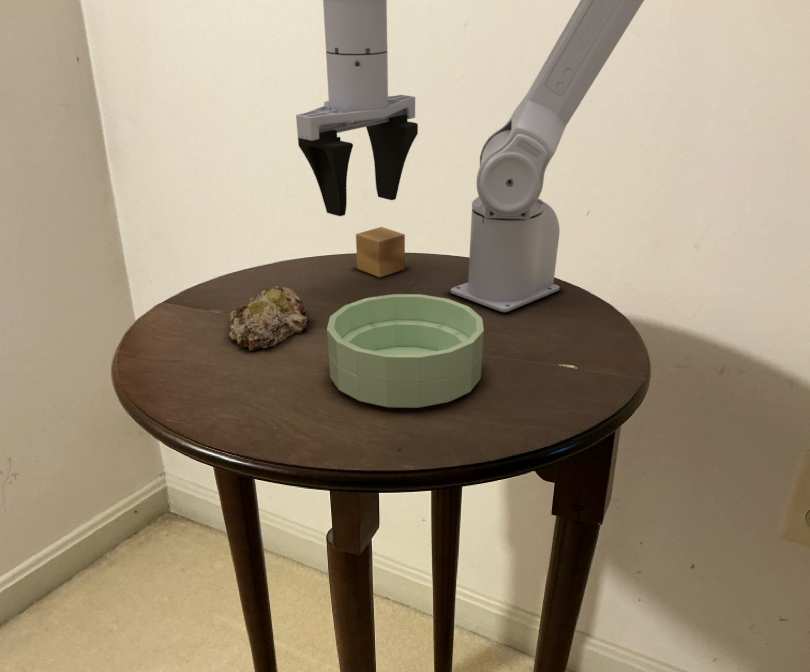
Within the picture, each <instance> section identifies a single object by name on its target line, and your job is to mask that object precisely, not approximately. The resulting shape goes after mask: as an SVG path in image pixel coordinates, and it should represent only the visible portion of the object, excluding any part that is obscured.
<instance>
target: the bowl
mask: <svg viewBox="0 0 810 672" xmlns="http://www.w3.org/2000/svg"><path fill="white" fill-rule="evenodd" d="M484 335H485V328H484V321H483V317H482V316H480V314H478V313H477V312H476V311H475V310H474V309H473V308H471V307H470V306H468V305H466V304H463V303H461V302H458V301H455V300H452V299H450V298H445V297H440V296H439V297H438V296H433V295H427V294H419V293H418V294H417V293H415V294H414V293H413V294H412V293H411V294H410V293H409V294H408V293H407V294H405V293H396V294H395V293H393V294H386V295H379V296H372V297H366V298H363V299H360V300H357V301H353V302H351V303H347V304H345V305H343V306H342V307H340V308H339V309H338V310H336V311H335V312H334V313H333V314H331V315H330V316H329V319H328V323H327V328H326V337H327V338H326V339H327V349H328V350H327V352H328V365H329V366H328V367H329V377H330V378H329V379H331V381H332V383H333V384H334V385H335V387H336V388H337V390H338V391H340V392H342V393H343V394H345V395H348V397H351V398H353V399H355V400H357V401H359V402H361V403H366V404H371V405H375V406H380V407H384V408H412V409H413V408H417V409H419V408H424V407H430V406H434V405H440V404H446V403H450V402H452V401H455V400H456V399H458V398H460V397H463V396H465V395H467V394H469V393H471V392H472V390H473V389H474V388H475V387H476V385H477V384H478V383H479V381H480V380H481V378H482V367H483V365H482V364H483V351H484V350H483V349H484Z"/></svg>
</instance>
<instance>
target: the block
mask: <svg viewBox="0 0 810 672" xmlns="http://www.w3.org/2000/svg"><path fill="white" fill-rule="evenodd" d="M355 245H356V246H355V247H356V248H355V249H356V269H357V270H360V271H362V272H364V273H367V274H370V275H373V276H375V277H377V278H382V277H386V276H389V275H392V274H395V273H399V272H401V271H403V270H405V269H406V234H405V233H403V232H400V231H399V232H398V231H396V230H392V229H389V228H386V227H383V226H380V227H375V228H372V229H369V230H366V231H365V230H364V231H362V232H358V233H355Z"/></svg>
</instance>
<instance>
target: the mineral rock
mask: <svg viewBox="0 0 810 672" xmlns="http://www.w3.org/2000/svg"><path fill="white" fill-rule="evenodd" d="M307 311H308V310H307V308H306V305H305V303H304V301H303V300H301V299H300V297H299V296H298V295H297V294H296V292H295V291H294V290H293V288H287V287H285V286H282V287H281V286H275V285H274V286H273V287H272V288H267V289H264V290H261V293H258V294H257V295H253V297H251V298H250V299H249V300H248V305H244V304H240V305H239V306H238V307H236V309H235V310H233V311H231V312H230V314H229V321H228V322H229V323H228V327H229V328H228V330H229V331H230V332H229V333H228V335H229V338H230V339H231V340H232V341H236V342H237V344H238V345H239V346H240V347H242V348H243V347H245V348H248V351H250V352H253V351H256V350H258V349H269V348H272V347H276V346H277V345H278V344H281V343H283V342H284V341H285V340H286V339H287V338H288V337H290V336H292V335H294V334H300V333H302V332H303V331H306V327H307V322H308V317H307V315H308V313H307Z"/></svg>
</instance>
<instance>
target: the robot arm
mask: <svg viewBox="0 0 810 672" xmlns="http://www.w3.org/2000/svg"><path fill="white" fill-rule="evenodd" d="M644 1H645V0H579V3H578V4H577V6H576V8H575V9H574V11H573V13H572V15H571V16H570V18H569V20H568V21H567V23H566V25H565V27H564V29H563V30H562V32H561V34H560V35H559V37H558V39H557V41H555V44H554V46H553V47H552V49H551V51H550V53H549V54H548V56H547V58H546V59H545V61H544V63H543V65H542V67H541V68H540V70H539V72H538V74H537V75H536V77H535V78H534V80H533V82H532V84H531V86H530V88H529V89H528V91H527V92H526V94H525V95H524V97H523V98H522V100H521V101H520V102H519V104H518V105H517V106H516V107H515V109H514V110H513V112H512V114H511V116H510V118H509V119H508V121H507V122H506V123H505V124H504V125H503V126H502V127H501V128H499V129H498V130H496V131H495V132H493V133H492V134H491V135H490V136H489V137H488V138H487V139H486V141H485V142H484V144H483V146H482V148H481V151H480V155H479V168H478V171H477V174H476V191H477V197H476V198H474V199H473V200H472V201H471V218H470V237H469V238H470V239H469V257H468V258H469V259H468V260H469V261H468V274H467V275H468V278H467V282H465V283H462V284H459V285H456V286H453V287H451V288H450V293H451V294H452V295H455V296H457V297H460V298H463V299H465V300H468V301H471V302H474V303H477V304H479V305H481V306H484V307H487V308H490V309H493V310H495V311H497V312H500V313H508V312H511V311H513V310H516V309H518V308H520V307H523V306H526V305H528V304H530V303H533V302H535V301H538V300H540V299H542V298H544V297H547V296H549V295H551V294H554V293H556V292H559V291H560V286H559V285H558V284H555V283H554V282H555V274H556V266H557V258H558V249H559V242H560V232H561V231H560V230H561V229H560V223H559V218H558V215H557V213H556V212H555V210H554V208H552V206H551V205H550V204H548V203H547V202H545V201H543V200H542V199H540V196H541V194H542V191H543V187H544V181H545V180H544V179H545V173H546V170H547V167H548V166H549V164H550V162H551V160H552V159H553V157H554V156H555V153H556V151H557V149H558V147H559V144H560V142H561V139H562V137H563V134H564V132H565V129H566V127H567V126H568V124H569V122H570V121H571V119H572V117H573V116H574V114H575V113H576V111H577V109H578V108H579V106H580V105H581V104H582V101H583V100H584V98H585V96H586V95H587V93H588V91H589V90H590V88H591V87H592V85H593V84H594V82H595V80H596V79H597V77H598V76H599V74H600V73H601V71H602V69H603V67H604V66H605V64H606V63H607V61H608V59H609V58H610V56H611V55H612V53H613V51H614V50H615V48H616V47H617V45H618V44H619V41H620V40H621V39H622V37H623V35H624V34H625V32H626V30H627V29H628V27H629V25H630V24H631V22H632V21H633V19H634V17H635V16H636V14H637V12H638V11H639V9H640V8H641V6H642V5H643V3H644ZM322 5H323V6H322V7H323V20H324V21H323V22H324V23H323V24H324V40H325V42H324V43H325V58H326V59H325V60H326V78H327V93H328V94H327V97H328V100H326V101H324V102H323V106H320V107H317V108H315V109H312V110H310V111H306V112H303V113H298V114H296V115H295V120H296V131H297V142H298V143H297V145H298V147H299V149H300V150H301V152H302V154H303V155H304V157H305V159H306V161H307V162H308V164H309V167H310V168H311V170H312V173H313V175H314V177H315V180H316V183H317V185H318V188H319V190H320V191H319V192H320V194H321V197H322V202H323V204H324V208H325V212H326V213H327V214H330V215H333V216H336V217H343V216H346V211H347V206H348V205H347V201H348V200H347V199H348V198H347V197H348V194H347V190H348V189H347V188H348V187H347V182H348V181H347V179H348V170H349V163H350V158H351V155H352V150H353V147H354V144H353V143H352V142H349V141H345V140H341V136H338V134H340V133H343V132H347V131H348V132H349V131H352V130H358V129H362V128H366V131H367V134H368V138H369V142H370V146H371V150H372V156H373V162H374V177H375V178H374V179H375V188H376V194H377V197H378V198H380V199H385V200H389V201H394V200H396V199H397V196H398V191H399V187H400V182H401V179H402V174H403V170H404V166H405V163H406V161H407V158H408V157H407V156H408V154H409V152H410V149H411V147H412V146H413V143H414V141H415V139H416V138H417V136H418V135H419V124H418V123H417V122H413V121H408V120H412V119H416V96H412V95H407V94H406V95H405V94H397V95H390V96H389V62H388V61H389V60H388V58H389V57H388V55H389V54H388V3H387V0H322Z"/></svg>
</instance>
